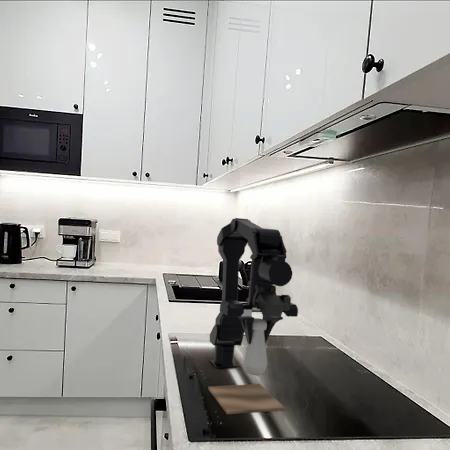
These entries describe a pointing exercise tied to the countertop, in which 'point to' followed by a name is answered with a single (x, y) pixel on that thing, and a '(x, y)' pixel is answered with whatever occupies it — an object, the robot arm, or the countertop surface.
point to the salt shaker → (256, 349)
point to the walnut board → (245, 398)
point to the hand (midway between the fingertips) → (256, 343)
